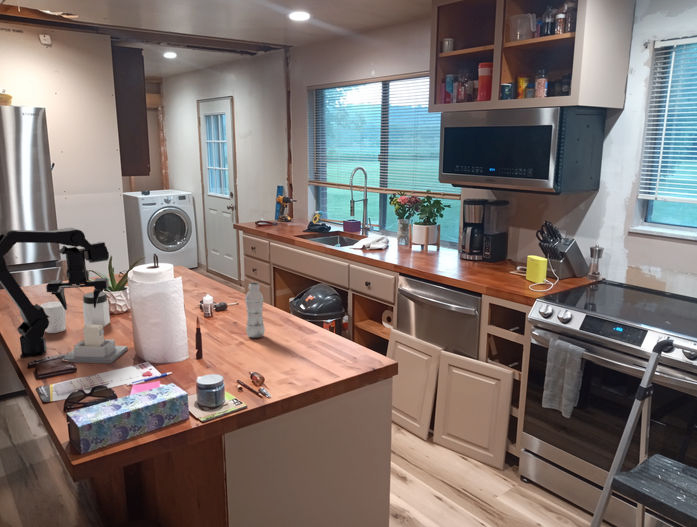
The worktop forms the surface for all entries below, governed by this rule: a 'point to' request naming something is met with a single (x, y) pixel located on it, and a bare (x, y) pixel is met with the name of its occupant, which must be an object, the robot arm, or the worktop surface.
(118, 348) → the hinge base
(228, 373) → the worktop surface
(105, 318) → the jar
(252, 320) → the plastic bottle
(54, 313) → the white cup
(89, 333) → the cream rectangular block
